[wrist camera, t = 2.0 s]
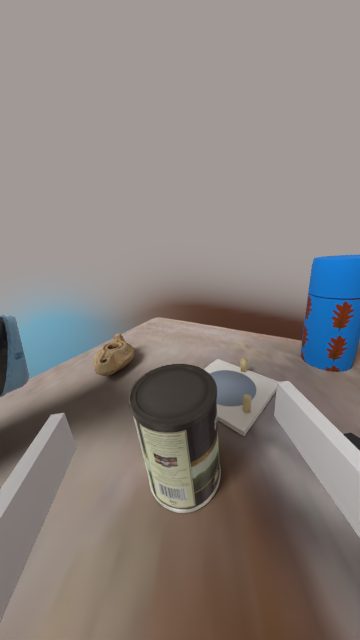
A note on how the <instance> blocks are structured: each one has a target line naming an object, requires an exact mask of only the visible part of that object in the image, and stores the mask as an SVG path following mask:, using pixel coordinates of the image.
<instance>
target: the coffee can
mask: <svg viewBox="0 0 360 640" xmlns="http://www.w3.org/2000/svg"><path fill="white" fill-rule="evenodd" d="M216 399H217V385H216V382H215V380H214V379H213V377H212V376H211V375H210V374H209V373H208V372H207V371H205V370H203V369H201V368H199V367H196V366H193V365H187V364H172V365H166V366H162V367H159V368H156V369H154V370H151V371H149V372H148V373H146V374H145V375H143V376H142V377H141V378H139V379H138V380H137V381H136V383H135V384H134V385H133V387H132V388H131V390H130V393H129V398H128V403H129V407H130V411H131V413H132V415H133V418H134V422H135V426H136V430H137V434H138V438H139V442H140V446H141V450H142V454H143V458H144V462H145V466H146V470H147V474H148V479H149V484H150V488H151V491H152V494H153V495H154V497H155V499H156V500H157V501H158V502H159V503H160V504H161V505H162V506H163V507H165V508H166V509H168V510H170V511H173V512H177V513H189V512H193V511H196V510H198V509H200V508H202V507H203V506H205V505H206V504H207V503H208V502H209V501H210V500H211V499H212V497H213V496H214V495H215V493H216V491H217V489H218V486H219V482H220V477H221V468H220V460H219V443H218V421H217V402H216Z"/></svg>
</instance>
